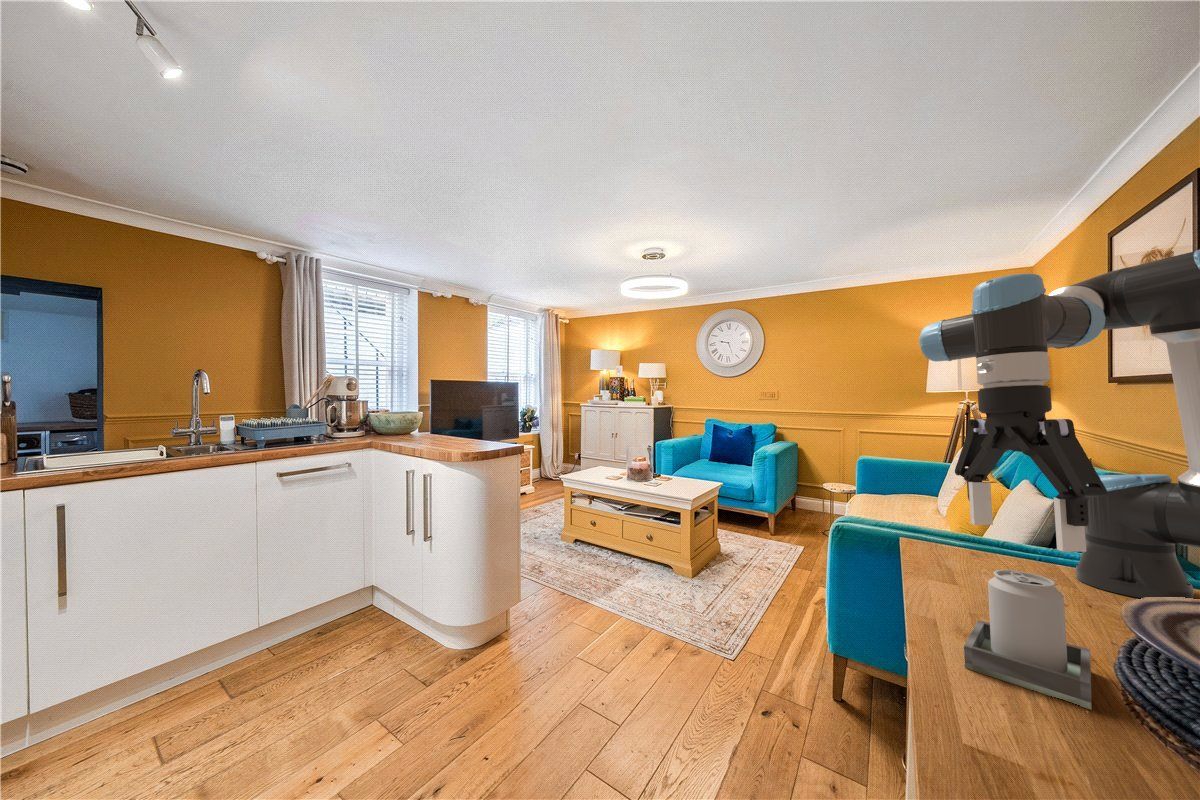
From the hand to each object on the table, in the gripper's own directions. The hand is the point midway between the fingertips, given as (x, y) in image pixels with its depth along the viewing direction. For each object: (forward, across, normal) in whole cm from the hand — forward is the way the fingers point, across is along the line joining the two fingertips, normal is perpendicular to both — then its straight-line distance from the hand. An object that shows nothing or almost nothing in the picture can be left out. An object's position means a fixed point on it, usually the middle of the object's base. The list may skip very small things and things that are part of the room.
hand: (1021, 536), depth 60 cm
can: (+18, 0, 0) cm, 18 cm away
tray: (+18, 0, 0) cm, 18 cm away
